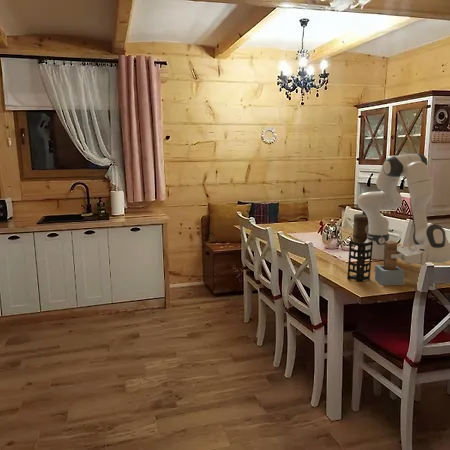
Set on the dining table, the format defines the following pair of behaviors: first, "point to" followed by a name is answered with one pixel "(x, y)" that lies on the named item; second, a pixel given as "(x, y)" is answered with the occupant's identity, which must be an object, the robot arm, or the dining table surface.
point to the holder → (359, 261)
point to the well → (389, 276)
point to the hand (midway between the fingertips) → (388, 254)
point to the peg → (389, 248)
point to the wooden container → (360, 227)
